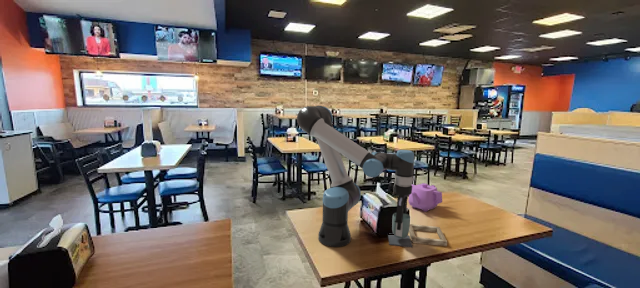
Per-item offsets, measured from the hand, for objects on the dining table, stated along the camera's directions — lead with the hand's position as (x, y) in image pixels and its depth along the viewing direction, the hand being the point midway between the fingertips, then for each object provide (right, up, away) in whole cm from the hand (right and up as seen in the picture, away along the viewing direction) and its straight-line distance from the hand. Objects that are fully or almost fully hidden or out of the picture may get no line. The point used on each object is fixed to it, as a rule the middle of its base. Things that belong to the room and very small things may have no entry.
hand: (400, 231), depth 129 cm
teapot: (+26, +1, +42) cm, 50 cm away
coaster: (0, -4, +1) cm, 4 cm away
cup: (0, -2, 0) cm, 2 cm away
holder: (+14, -4, +5) cm, 15 cm away
